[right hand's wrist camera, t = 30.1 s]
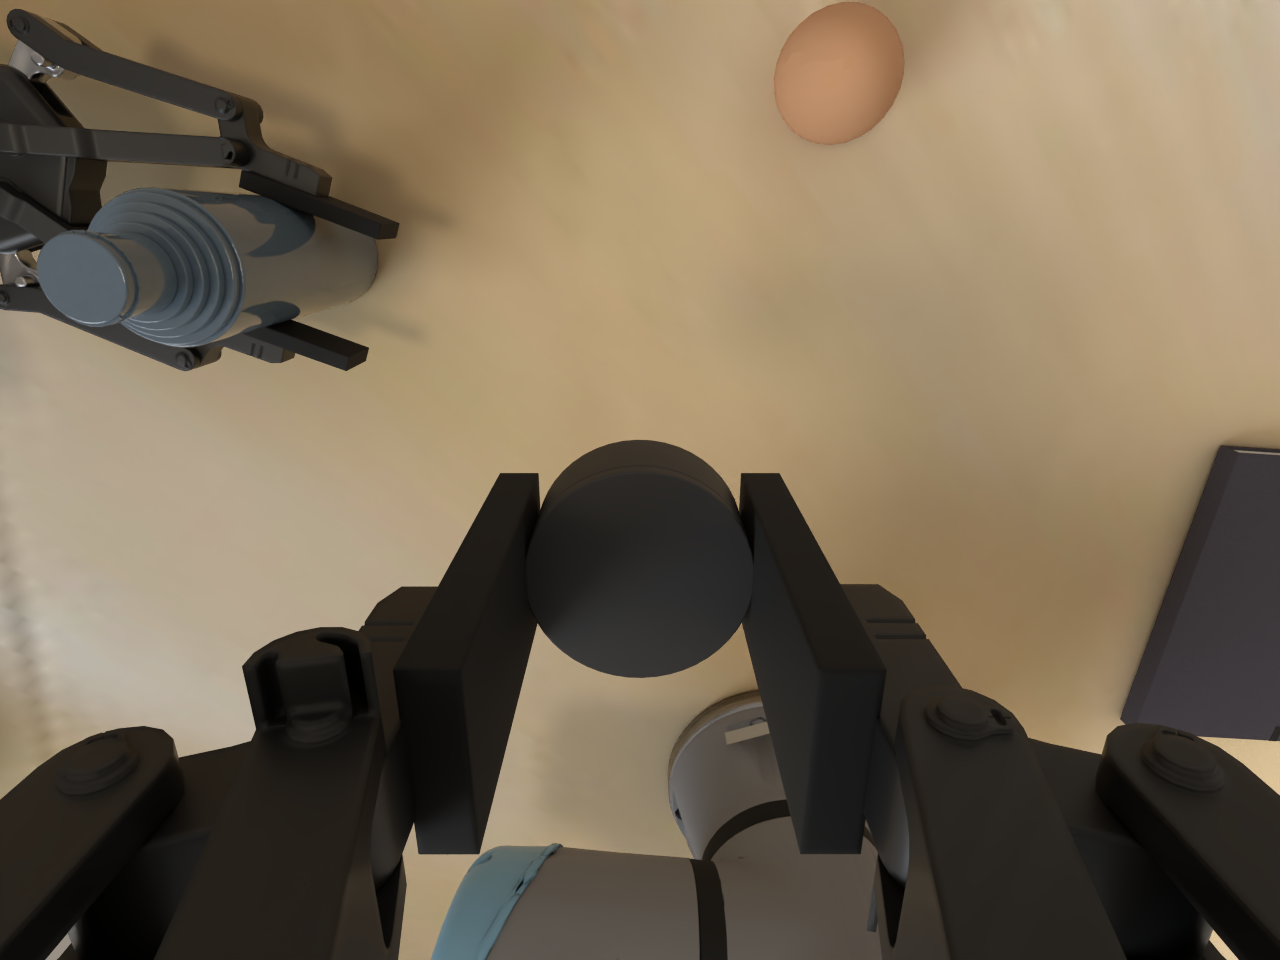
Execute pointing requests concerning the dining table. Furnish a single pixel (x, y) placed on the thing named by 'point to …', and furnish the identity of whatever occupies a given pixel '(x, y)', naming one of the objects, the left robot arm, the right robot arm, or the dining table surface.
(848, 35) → the egg
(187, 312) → the bottle
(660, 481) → the cap
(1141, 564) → the dining table surface
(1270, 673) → the notebook
